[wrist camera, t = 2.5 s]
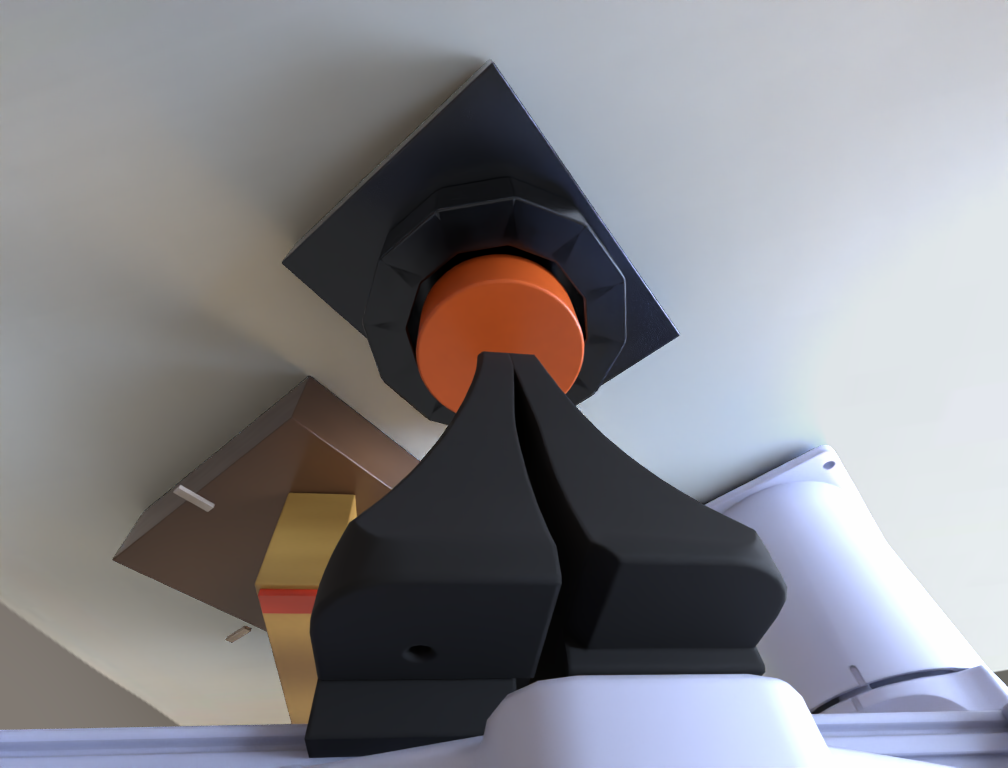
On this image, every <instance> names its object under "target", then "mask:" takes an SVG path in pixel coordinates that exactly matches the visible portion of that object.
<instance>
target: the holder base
mask: <svg viewBox="0 0 1008 768" xmlns="http://www.w3.org/2000/svg"><path fill="white" fill-rule="evenodd" d="M419 462H420V461H418V460H417V459H416V458H414V457H413V456H412V455H411V454H409V453H408V452H407V451H405V450H404V449H403V448H402V447H400V446H399V445H398V444H397V443H395V442H394V441H393V440H391V439H390V438H389V437H388V436H386V435H385V434H384V433H382V432H381V431H380V430H379V429H377V428H376V427H375V426H373V425H372V424H371V423H370V422H368V421H367V420H366V419H365V418H363V417H362V416H361V415H359V414H358V413H357V412H356V411H354V410H353V409H352V408H350V407H349V406H348V405H347V404H345V403H344V402H343V401H341V400H340V399H339V398H338V397H336V396H335V395H334V394H333V393H331V392H330V391H329V390H327V389H326V388H325V387H324V386H322V385H321V384H320V383H318V382H317V381H316V380H315V379H313V378H312V377H311V376H309V377H307V378H306V379H305V380H304V381H303V382H301V383H300V384H299V385H298V386H296V387H295V388H294V389H293V390H292V391H290V392H289V393H288V394H287V395H285V396H284V397H283V398H282V399H281V400H279V401H278V402H277V403H276V404H274V405H273V406H272V407H271V408H270V409H268V410H267V411H266V412H265V413H264V414H262V415H261V416H260V417H259V418H257V419H256V420H255V421H254V422H253V423H251V424H250V425H249V426H248V427H246V428H245V429H244V430H243V431H242V432H240V433H239V434H238V435H237V436H235V437H234V438H233V439H232V440H231V441H229V442H228V443H227V444H226V445H224V446H223V447H222V448H221V449H220V450H218V451H217V452H216V453H215V454H213V455H212V456H211V457H210V458H209V459H207V460H206V461H205V462H204V463H203V464H201V465H200V466H199V467H198V468H196V469H195V470H194V471H193V472H192V473H190V474H189V475H188V476H187V477H185V478H184V479H183V480H182V481H181V482H179V483H178V484H177V485H176V486H174V487H173V488H172V489H171V490H170V491H168V492H167V493H166V494H165V495H163V496H162V497H161V498H160V499H159V500H157V501H156V502H155V503H154V504H153V505H151V506H150V507H149V508H148V509H146V510H145V511H144V512H143V513H142V515H141V516H140V518H139V519H138V521H137V522H136V524H135V525H134V527H133V528H132V530H131V532H130V533H129V535H128V536H127V538H126V539H125V541H124V542H123V544H122V545H121V547H120V548H119V550H118V551H117V553H116V554H115V556H114V557H113V561H115V562H117V563H119V564H122V565H124V566H126V567H128V568H130V569H132V570H135V571H137V572H139V573H141V574H143V575H145V576H148V577H150V578H152V579H154V580H156V581H158V582H161V583H163V584H165V585H167V586H169V587H171V588H174V589H176V590H178V591H180V592H182V593H184V594H187V595H189V596H191V597H193V598H195V599H197V600H200V601H202V602H204V603H206V604H208V605H210V606H213V607H215V608H217V609H219V610H221V611H223V612H226V613H228V614H230V615H232V616H234V617H236V618H239V619H241V620H243V621H245V622H247V623H249V624H252V625H254V626H256V627H258V628H260V629H262V630H265V631H267V629H266V625H265V622H264V618H263V614H262V610H261V607H260V603H259V599H258V595H257V592H256V588H255V581H256V579H257V576H258V573H259V571H260V568H261V565H262V563H263V560H264V557H265V554H266V552H267V549H268V546H269V544H270V541H271V538H272V536H273V533H274V530H275V528H276V525H277V522H278V520H279V517H280V514H281V512H282V509H283V506H284V504H285V501H286V498H287V496H288V493H317V494H349V495H355V499H356V513H357V516H359V515H360V514H361V513H363V512H364V511H365V510H367V509H368V508H369V507H371V506H372V505H373V504H375V503H376V502H377V501H379V500H380V499H381V498H382V497H384V496H385V495H386V494H387V493H388V492H389V491H390V490H392V489H393V488H394V487H395V486H396V485H397V484H398V483H399V482H400V481H401V480H402V479H403V478H404V477H406V476H407V475H408V474H409V473H410V472H411V471H412V470H413V469H414V468H415V467H416V466H417V465H418V463H419ZM251 629H252V628H250V627H248V626H243V627H242V628H240V629H239V630H237V631H235V632H234V633H232V634H231V635H229V636H227V637H226V641H229V642H231V643H233V642H234V641H236V640H237V639H239V638H241V637H242V636H244V635H246V634H247V633H249V632H250V631H251Z"/></svg>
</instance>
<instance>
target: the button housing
mask: <svg viewBox="0 0 1008 768" xmlns="http://www.w3.org/2000/svg"><path fill="white" fill-rule="evenodd" d="M492 254H508V255H514V256H519V257H523V258H526V259H529V260H531V261H533V262H536V263H538V264H539V265H541V266H543V267H544V268H546V269H547V270H548V271H550V272H551V273H552V274H553V275H554V276H555V277H556V278H557V279H558V280H559V281H560V282H561V284H562V285H563V287H564V288H565V290H566V291H567V294H568V296H569V298H570V300H571V303H572V305H573V308H574V311H575V313H576V316H577V319H578V321H579V324H580V327H581V330H582V333H583V339H584V356H583V362H582V366H581V369H580V372H579V374H578V376H577V378H576V380H575V382H574V383H573V385H572V386H571V388H570V389H569V390H568V392H567V393H566V396H567V397H568V398H569V399H570V400H571V402H572V403H573V404H574V405H575V406H576V405H578V404H579V403H581V402H582V401H584V400H586V399H587V398H589V397H590V396H592V395H594V394H595V392H596V391H597V390H598V389H599V387H600V386H601V385H603V384H604V383H606V382H607V381H609V380H611V379H612V378H614V377H615V376H617V375H618V374H620V373H622V372H623V371H625V370H626V369H628V368H629V367H631V366H633V365H634V364H636V363H637V362H639V361H640V360H642V359H643V358H645V357H647V356H648V355H650V354H651V353H653V352H654V351H656V350H658V349H659V348H661V347H662V346H664V345H665V344H667V343H669V342H670V341H672V340H673V339H675V338H676V337H678V336H679V335H680V333H679V331H678V330H677V328H676V327H675V325H674V324H673V323H672V321H671V320H670V318H669V317H668V315H667V314H666V312H665V311H664V309H663V308H662V307H661V305H660V304H659V302H658V301H657V299H656V298H655V296H654V295H653V293H652V292H651V291H650V289H649V288H648V286H647V285H646V283H645V282H644V280H643V279H642V277H641V276H640V275H639V273H638V272H637V270H636V269H635V267H634V266H633V264H632V263H631V261H630V260H629V259H628V257H627V256H626V254H625V253H624V251H623V250H622V248H621V247H620V245H619V244H618V243H617V241H616V240H615V238H614V237H613V235H612V234H611V232H610V231H609V229H608V228H607V227H606V225H605V224H604V222H603V221H602V219H601V218H600V216H599V215H598V213H597V212H596V211H595V209H594V208H593V206H592V205H591V203H590V202H589V200H588V199H587V197H586V196H585V195H584V193H583V192H582V190H581V189H580V187H579V186H578V184H577V183H576V181H575V180H574V179H573V177H572V176H571V174H570V173H569V171H568V170H567V168H566V167H565V165H564V164H563V163H562V161H561V160H560V158H559V157H558V155H557V154H556V152H555V151H554V149H553V148H552V147H551V145H550V144H549V142H548V141H547V139H546V138H545V136H544V135H543V133H542V132H541V131H540V129H539V128H538V126H537V125H536V123H535V122H534V120H533V119H532V117H531V116H530V115H529V113H528V112H527V110H526V109H525V107H524V106H523V104H522V103H521V101H520V100H519V99H518V97H517V96H516V94H515V93H514V91H513V90H512V88H511V87H510V85H509V84H508V83H507V81H506V80H505V78H504V77H503V75H502V74H501V72H500V71H499V69H498V68H497V67H496V65H495V64H494V62H493V61H492V60H491V59H489V60H488V61H487V62H486V63H485V64H484V65H483V66H482V67H481V68H479V69H478V70H477V71H476V72H475V73H474V74H473V75H472V76H471V77H470V78H469V79H468V80H467V81H466V82H465V83H464V84H463V85H462V86H461V87H460V88H459V89H457V90H456V91H455V92H454V93H453V94H452V95H451V96H450V97H449V98H448V99H447V100H446V101H445V102H444V103H443V104H442V105H441V106H440V107H439V108H438V109H437V110H435V111H434V112H433V113H432V114H431V115H430V116H429V117H428V118H427V119H426V120H425V121H424V122H423V123H422V124H421V125H420V126H419V127H418V128H417V129H416V130H415V131H413V132H412V133H411V134H410V135H409V136H408V137H407V138H406V139H405V140H404V141H403V142H402V143H401V144H400V145H399V146H398V147H397V148H396V149H395V150H394V151H393V152H391V153H390V154H389V155H388V156H387V157H386V158H385V159H384V160H383V161H382V162H381V163H380V164H379V165H378V166H377V167H376V168H375V169H374V170H373V171H372V172H371V173H369V174H368V175H367V176H366V177H365V178H364V179H363V180H362V181H361V182H360V183H359V184H358V185H357V186H356V187H355V188H354V189H353V190H352V191H351V192H350V193H349V194H347V195H346V196H345V197H344V198H343V199H342V200H341V201H340V202H339V203H338V204H337V205H336V206H335V207H334V208H333V209H332V210H331V211H330V212H329V213H328V214H327V215H325V216H324V217H323V218H322V219H321V220H320V221H319V222H318V223H317V224H316V225H315V226H314V227H313V228H312V229H311V230H310V231H309V232H308V233H307V234H306V235H305V236H303V237H302V238H301V239H300V240H299V241H298V242H297V243H296V244H295V245H294V247H293V248H292V249H291V251H290V252H289V253H288V254H287V256H286V257H285V258H284V260H283V261H282V264H283V265H284V266H285V267H286V268H288V269H289V270H290V271H291V272H292V273H293V274H294V275H296V276H297V277H298V278H299V279H300V280H301V281H302V282H303V283H305V284H306V285H307V286H308V287H309V288H310V289H311V290H313V291H314V292H315V293H316V294H317V295H318V296H319V297H320V298H322V299H323V300H324V301H325V302H326V303H327V304H328V305H330V306H331V307H332V308H333V309H334V310H335V311H336V312H337V313H339V314H340V315H341V316H342V317H343V318H344V319H345V320H347V321H348V322H349V323H350V324H351V325H352V326H353V327H354V328H356V329H357V330H358V331H359V332H360V333H361V334H362V335H364V336H365V337H366V338H367V339H368V342H369V345H370V348H371V351H372V353H373V356H374V359H375V362H376V365H377V368H378V371H379V373H380V376H381V378H382V380H383V381H384V383H386V384H387V385H388V386H389V387H390V388H392V389H393V390H394V391H395V392H396V393H397V394H399V395H400V396H401V397H402V398H403V399H405V400H406V401H407V402H408V403H409V404H410V405H412V406H413V407H414V408H415V409H416V410H418V411H419V412H420V413H421V414H422V415H423V416H425V417H426V418H428V420H431V421H435V422H439V423H443V424H447V425H449V424H450V422H451V421H452V419H453V418H454V416H455V414H456V413H455V412H453V411H451V410H450V409H448V408H446V407H445V406H444V405H442V404H441V403H440V402H439V401H438V400H437V399H436V398H435V397H434V396H433V395H432V394H431V393H430V391H429V390H428V389H427V387H426V386H425V384H424V382H423V380H422V378H421V376H420V373H419V370H418V366H417V361H416V345H417V337H418V331H419V324H420V317H421V312H422V308H423V304H424V302H425V299H426V297H427V295H428V293H429V292H430V290H431V288H432V287H433V286H434V284H435V283H436V282H437V281H438V279H439V278H441V277H442V276H443V275H444V274H445V273H446V272H447V271H449V270H450V269H452V268H453V267H454V266H456V265H458V264H460V263H462V262H464V261H467V260H469V259H472V258H475V257H479V256H484V255H492Z"/></svg>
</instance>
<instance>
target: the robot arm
mask: <svg viewBox="0 0 1008 768" xmlns="http://www.w3.org/2000/svg"><path fill="white" fill-rule="evenodd" d="M309 633H310V638H311V644H312V649H313V655H314V660H315V666H316V671H317V677H318V680H317V684H316V689H315V693H314V698H313V702H312V707H311V711H310V716H309V720H308V724H274V725H222V726H175V727H174V726H171V727H120V728H69V729H68V728H67V729H19V730H17V729H16V730H0V768H1008V687H1007V686H1006V685H1005V684H1004V683H1003V682H1002V681H1001V680H1000V679H999V678H998V677H997V676H996V675H995V674H994V673H993V672H992V671H991V670H990V669H989V668H988V667H987V666H986V665H985V663H984V662H983V661H982V660H981V658H980V657H979V656H978V655H977V653H976V652H975V651H974V650H973V649H972V647H971V646H970V645H969V644H968V642H967V641H966V640H965V639H964V637H963V636H962V635H961V634H960V632H959V631H958V630H957V629H956V628H955V626H954V625H953V624H952V623H951V621H950V620H949V619H948V618H947V616H946V615H945V614H944V613H943V611H942V610H941V609H940V608H939V607H938V605H937V604H936V603H935V602H934V600H933V599H932V598H931V597H930V595H929V594H928V593H927V592H926V590H925V589H924V588H923V587H922V586H921V584H920V583H919V582H918V581H917V579H916V578H915V577H914V576H913V574H912V573H911V572H910V571H909V569H908V568H907V567H906V566H905V565H904V563H903V562H902V561H901V560H900V558H899V557H898V556H897V555H896V553H895V552H894V551H893V550H892V548H891V547H890V546H889V545H888V544H887V542H886V541H885V539H884V537H883V536H882V534H881V532H880V530H879V528H878V527H877V525H876V523H875V521H874V520H873V518H872V516H871V514H870V512H869V511H868V509H867V507H866V505H865V504H864V502H863V500H862V498H861V496H860V495H859V493H858V491H857V489H856V488H855V486H854V484H853V482H852V480H851V479H850V477H849V475H848V473H847V472H846V470H845V468H844V466H843V465H842V463H841V461H840V459H839V457H838V456H837V454H836V452H835V451H834V450H833V449H832V448H831V447H830V446H827V445H822V446H818V447H816V448H814V449H812V450H810V451H808V452H806V453H804V454H802V455H800V456H798V457H797V458H795V459H793V460H791V461H789V462H787V463H785V464H783V465H781V466H779V467H777V468H775V469H773V470H771V471H769V472H767V473H765V474H763V475H761V476H759V477H757V478H756V479H754V480H752V481H750V482H748V483H746V484H744V485H742V486H740V487H738V488H736V489H734V490H732V491H730V492H728V493H726V494H724V495H722V496H720V497H718V498H716V499H715V500H713V501H711V502H709V503H707V504H705V505H704V504H702V503H700V502H698V501H697V500H695V499H693V498H691V497H690V496H688V495H686V494H684V493H683V492H681V491H679V490H678V489H676V488H674V487H673V486H671V485H670V484H668V483H666V482H665V481H663V480H662V479H660V478H659V477H657V476H656V475H654V474H653V473H652V472H650V471H649V470H647V469H646V468H645V467H643V466H642V465H640V464H639V463H637V462H636V461H635V460H634V459H632V458H631V457H630V456H628V455H627V454H626V453H624V452H623V451H622V450H621V449H620V448H619V447H617V446H616V445H615V444H614V443H613V442H611V441H610V440H609V439H608V438H607V437H606V436H605V435H603V434H602V433H601V432H600V431H599V430H598V429H597V428H596V427H595V426H594V425H593V424H592V423H591V422H590V421H589V420H588V419H587V418H586V417H585V416H584V415H583V414H582V413H581V412H580V411H579V410H578V408H577V407H576V406H575V405H574V404H573V403H572V402H571V400H570V399H569V398H568V397H567V396H566V394H565V393H564V392H563V391H562V390H561V388H560V387H559V386H558V385H557V383H556V382H555V381H554V379H553V378H552V377H551V376H550V374H549V373H548V372H547V370H546V369H545V368H544V366H543V365H542V364H541V362H540V361H539V360H538V359H537V357H536V356H535V355H533V354H518V353H502V352H487V351H483V352H481V353H480V354H478V356H477V366H476V371H475V374H474V377H473V380H472V383H471V385H470V387H469V389H468V392H467V394H466V396H465V398H464V400H463V402H462V404H461V405H460V407H459V409H458V411H457V412H456V414H455V416H454V418H453V419H452V421H451V422H450V424H449V425H448V427H447V428H446V430H445V431H444V433H443V434H442V436H441V437H440V438H439V440H438V441H437V442H436V444H435V445H434V446H433V447H432V448H431V450H430V451H429V452H428V453H427V454H426V455H425V457H424V458H423V459H422V460H421V461H420V462H419V463H418V465H417V466H416V467H415V468H414V469H413V470H412V471H411V472H410V473H409V474H408V475H407V476H406V477H404V478H403V479H402V480H401V481H400V482H399V483H398V484H397V485H396V486H395V487H394V488H393V489H392V490H390V491H389V492H388V493H387V494H386V495H385V496H384V497H382V498H381V499H380V500H379V501H377V502H376V503H375V504H373V505H372V506H371V507H369V508H368V509H367V510H365V511H364V512H363V513H361V514H360V515H359V516H357V517H356V518H355V519H353V520H352V521H350V522H349V524H348V526H347V527H346V529H345V531H344V533H343V534H342V536H341V538H340V540H339V542H338V543H337V545H336V547H335V549H334V551H333V553H332V555H331V557H330V559H329V562H328V564H327V566H326V568H325V571H324V574H323V576H322V579H321V581H320V584H319V587H318V590H317V594H316V598H315V602H314V606H313V610H312V614H311V618H310V631H309Z"/></svg>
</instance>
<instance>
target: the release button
mask: <svg viewBox="0 0 1008 768" xmlns="http://www.w3.org/2000/svg"><path fill="white" fill-rule="evenodd" d="M483 351H487V352H502V353H518V354H533V355H535V356H536V357H537V359H538V360H539V361H540V362H541V364H542V365H543V366H544V368H545V369H546V370H547V372H548V373H549V374H550V376H551V377H552V378H553V379H554V381H555V382H556V383H557V385H558V386H559V387H560V388H561V390H562V391H563V392H564V393H565V394H566V393H567V392H568V390H569V389H570V388H571V386H572V385H573V383H574V382H575V380H576V378H577V376H578V374H579V372H580V369H581V366H582V362H583V356H584V339H583V333H582V330H581V327H580V324H579V321H578V319H577V316H576V313H575V311H574V308H573V305H572V303H571V300H570V298H569V296H568V294H567V291H566V290H565V288H564V287H563V285H562V284H561V282H560V281H559V280H558V279H557V278H556V277H555V276H554V275H553V274H552V273H551V272H550V271H548V270H547V269H546V268H544V267H543V266H541V265H539V264H538V263H536V262H533V261H531V260H529V259H526V258H523V257H519V256H514V255H508V254H492V255H484V256H479V257H475V258H472V259H469V260H467V261H464V262H462V263H460V264H458V265H456V266H454V267H453V268H452V269H450V270H449V271H447V272H446V273H445V274H444V275H443V276H442V277H441V278H439V279H438V281H437V282H436V283H435V284H434V286H433V287H432V288H431V290H430V292H429V293H428V295H427V297H426V299H425V302H424V304H423V308H422V312H421V317H420V324H419V331H418V337H417V345H416V361H417V366H418V370H419V373H420V376H421V378H422V380H423V382H424V384H425V386H426V387H427V389H428V390H429V391H430V393H431V394H432V395H433V396H434V397H435V398H436V399H437V400H438V401H439V402H440V403H441V404H442V405H444V406H445V407H446V408H448V409H450V410H451V411H453V412H455V413H456V412H457V411H458V409H459V407H460V405H461V404H462V402H463V400H464V398H465V396H466V394H467V392H468V389H469V387H470V385H471V383H472V380H473V377H474V374H475V371H476V366H477V356H478V354H480V353H481V352H483Z"/></svg>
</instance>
